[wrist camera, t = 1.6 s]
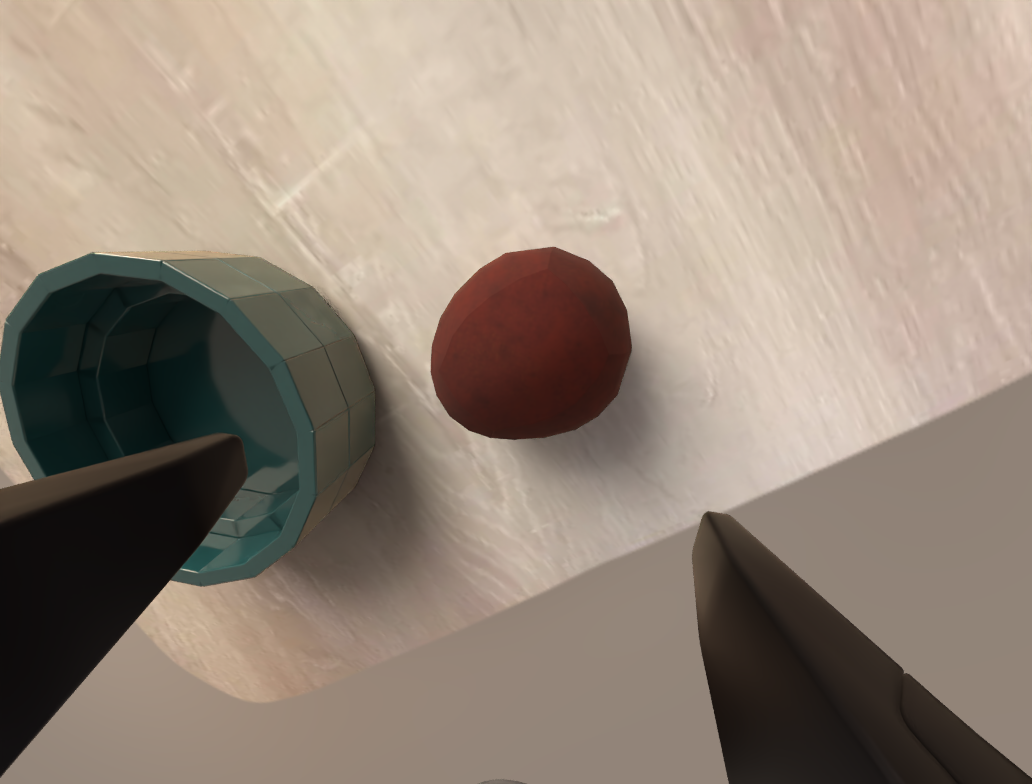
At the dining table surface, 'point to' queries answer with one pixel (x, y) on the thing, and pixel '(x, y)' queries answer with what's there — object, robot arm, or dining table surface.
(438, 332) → the potato
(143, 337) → the bowl
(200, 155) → the dining table surface
